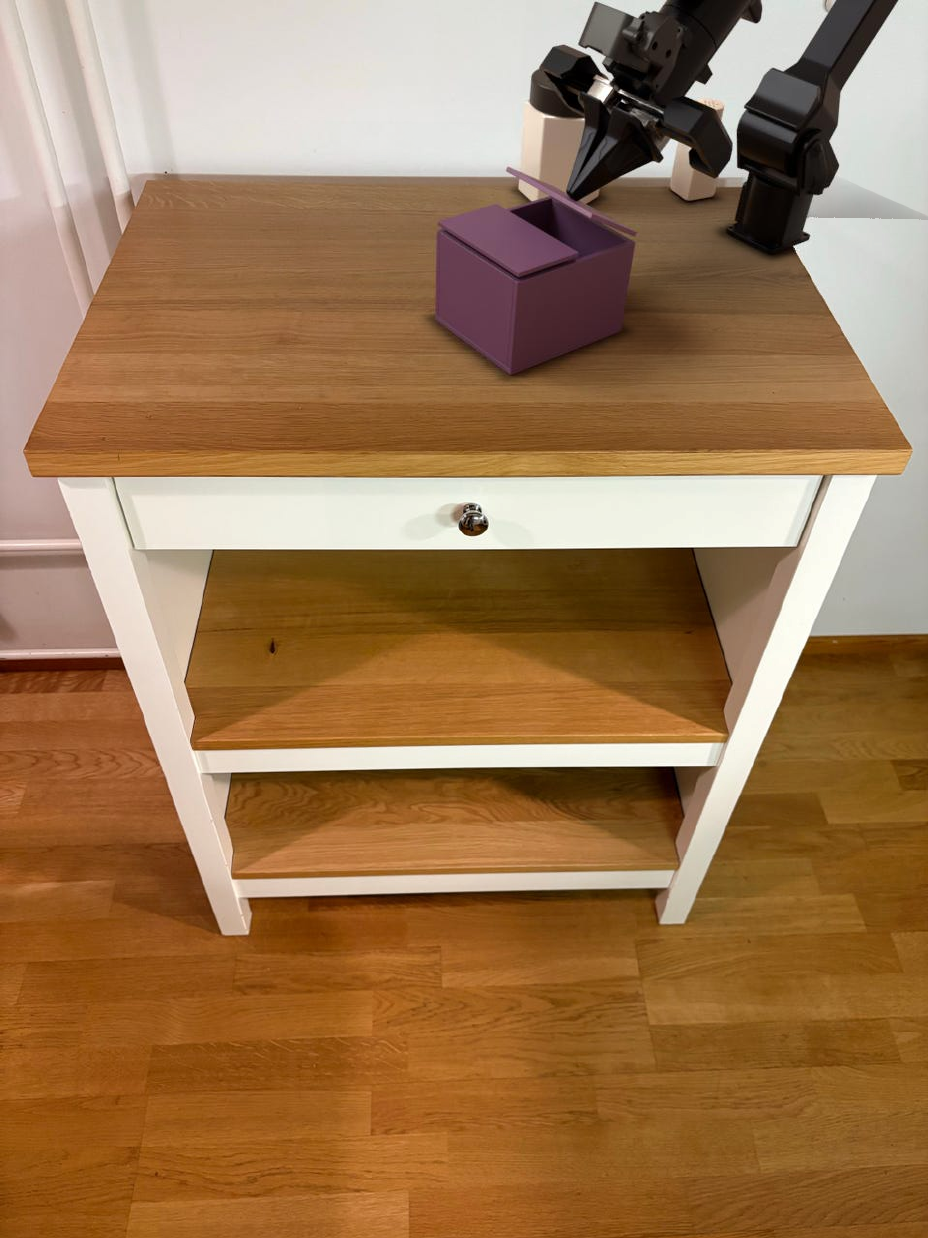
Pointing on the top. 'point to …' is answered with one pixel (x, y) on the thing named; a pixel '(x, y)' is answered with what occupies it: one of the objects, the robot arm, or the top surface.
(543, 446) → the top surface
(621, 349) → the top surface
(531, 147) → the jar
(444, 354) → the top surface
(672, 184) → the pepper shaker
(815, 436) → the top surface
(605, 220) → the lid
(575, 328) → the box
